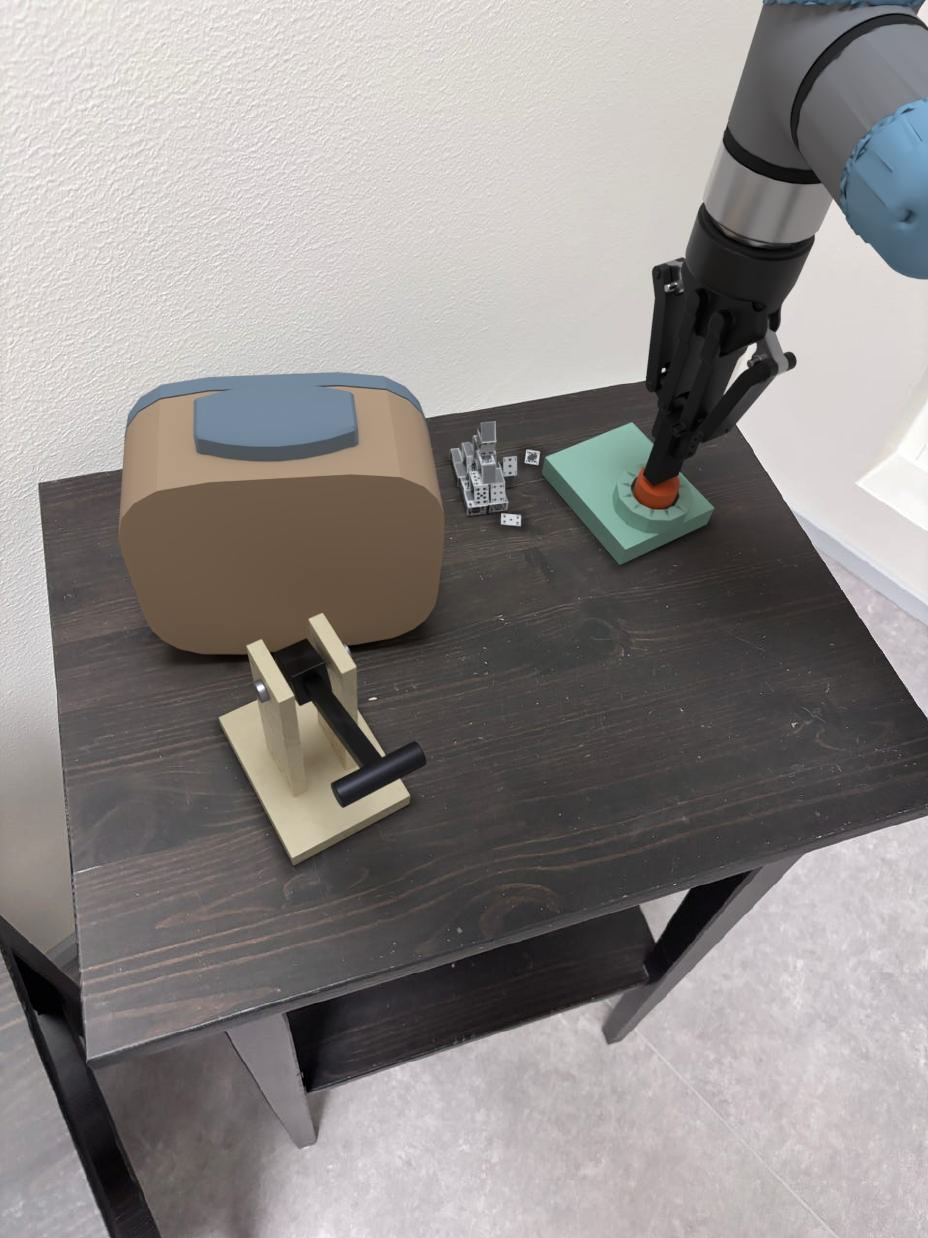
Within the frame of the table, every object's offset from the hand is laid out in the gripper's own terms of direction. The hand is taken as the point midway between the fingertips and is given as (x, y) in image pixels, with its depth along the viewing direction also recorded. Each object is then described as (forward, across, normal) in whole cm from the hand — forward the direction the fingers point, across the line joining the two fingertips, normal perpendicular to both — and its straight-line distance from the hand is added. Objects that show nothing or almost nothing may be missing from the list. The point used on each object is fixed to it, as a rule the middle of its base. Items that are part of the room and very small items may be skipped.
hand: (660, 474), depth 77 cm
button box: (+6, +3, 0) cm, 7 cm away
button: (+2, 0, 0) cm, 2 cm away
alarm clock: (+6, +6, +31) cm, 32 cm away
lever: (-8, -12, +36) cm, 39 cm away
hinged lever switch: (+6, -7, +36) cm, 37 cm away
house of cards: (+6, +9, +9) cm, 14 cm away
